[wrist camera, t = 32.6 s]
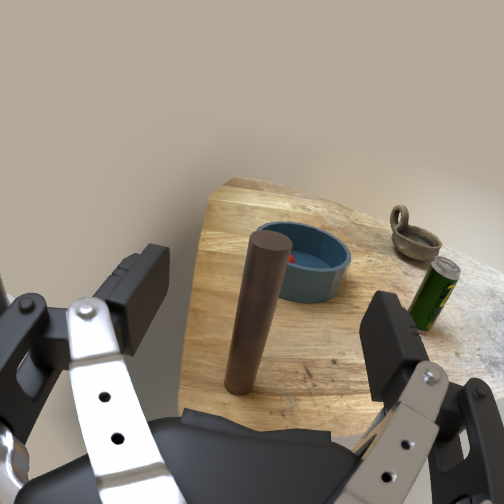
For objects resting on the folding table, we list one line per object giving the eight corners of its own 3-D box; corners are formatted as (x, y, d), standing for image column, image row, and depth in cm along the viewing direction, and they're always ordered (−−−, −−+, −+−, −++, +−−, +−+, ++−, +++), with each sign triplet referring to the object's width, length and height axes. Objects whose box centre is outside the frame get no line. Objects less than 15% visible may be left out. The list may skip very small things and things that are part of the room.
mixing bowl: (235, 284, 48) (241, 251, 45) (262, 241, 62) (268, 213, 59) (337, 314, 45) (350, 283, 42) (341, 263, 59) (350, 237, 56)
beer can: (400, 324, 44) (431, 262, 39) (407, 309, 48) (435, 252, 42) (426, 339, 42) (461, 278, 36) (431, 323, 46) (462, 266, 40)
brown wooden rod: (219, 389, 30) (244, 242, 21) (229, 369, 33) (256, 226, 24) (248, 399, 30) (288, 255, 21) (256, 378, 32) (295, 237, 24)
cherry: (300, 258, 51) (294, 271, 53) (289, 248, 53) (283, 261, 55) (288, 262, 49) (282, 275, 51) (277, 250, 51) (271, 264, 53)
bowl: (412, 273, 61) (429, 233, 56) (368, 235, 75) (379, 200, 70) (443, 268, 66) (458, 234, 61) (401, 235, 80) (412, 203, 75)
